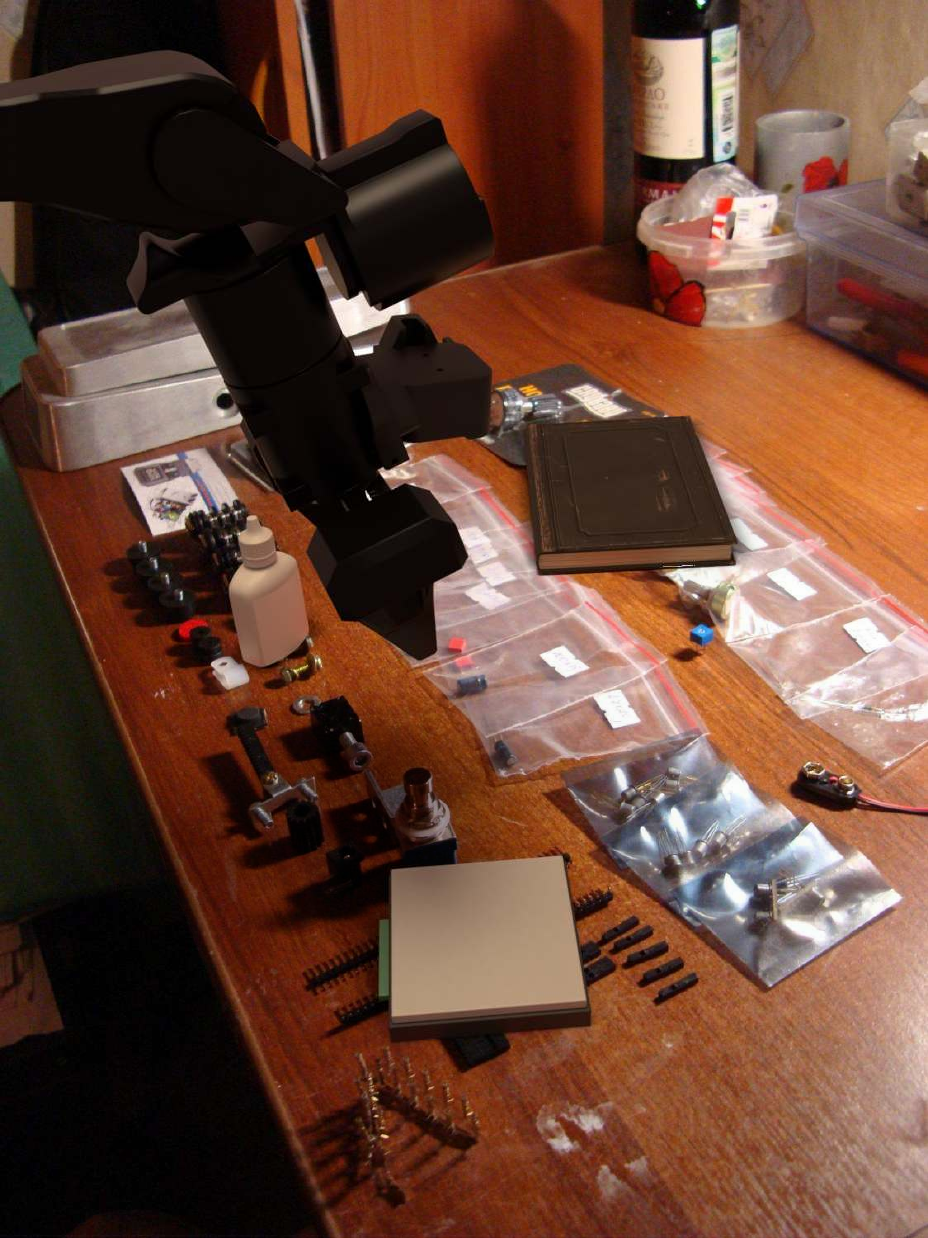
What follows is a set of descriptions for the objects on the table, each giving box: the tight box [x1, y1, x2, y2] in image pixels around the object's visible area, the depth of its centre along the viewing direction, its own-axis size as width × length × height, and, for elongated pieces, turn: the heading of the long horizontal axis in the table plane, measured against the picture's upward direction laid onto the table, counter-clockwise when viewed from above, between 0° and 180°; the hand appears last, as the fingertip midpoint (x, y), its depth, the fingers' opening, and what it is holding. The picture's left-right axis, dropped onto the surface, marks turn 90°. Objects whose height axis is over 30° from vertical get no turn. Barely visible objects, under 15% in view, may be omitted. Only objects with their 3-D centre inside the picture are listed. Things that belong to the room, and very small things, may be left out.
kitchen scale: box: [378, 855, 592, 1043], centre depth 61 cm, size 11×10×3 cm
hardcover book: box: [523, 415, 739, 576], centre depth 101 cm, size 16×23×2 cm
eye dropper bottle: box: [228, 514, 310, 668], centre depth 82 cm, size 4×6×12 cm
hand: (398, 608), depth 61 cm, fingers open, 9 cm apart
